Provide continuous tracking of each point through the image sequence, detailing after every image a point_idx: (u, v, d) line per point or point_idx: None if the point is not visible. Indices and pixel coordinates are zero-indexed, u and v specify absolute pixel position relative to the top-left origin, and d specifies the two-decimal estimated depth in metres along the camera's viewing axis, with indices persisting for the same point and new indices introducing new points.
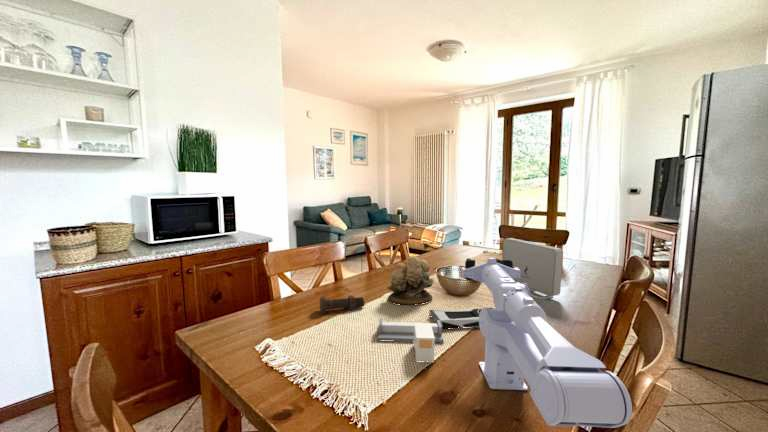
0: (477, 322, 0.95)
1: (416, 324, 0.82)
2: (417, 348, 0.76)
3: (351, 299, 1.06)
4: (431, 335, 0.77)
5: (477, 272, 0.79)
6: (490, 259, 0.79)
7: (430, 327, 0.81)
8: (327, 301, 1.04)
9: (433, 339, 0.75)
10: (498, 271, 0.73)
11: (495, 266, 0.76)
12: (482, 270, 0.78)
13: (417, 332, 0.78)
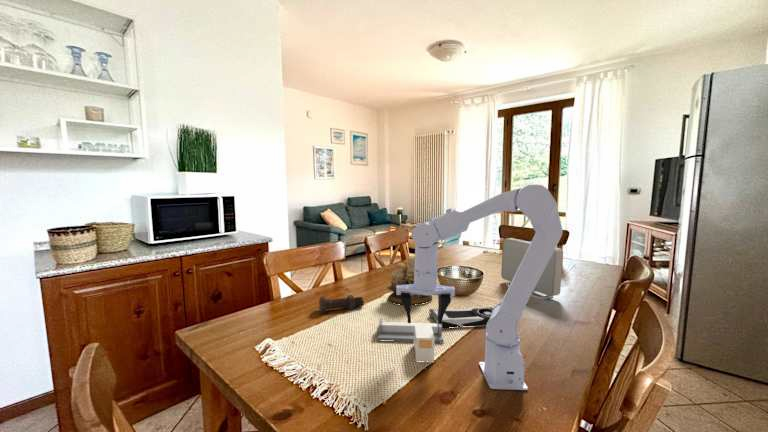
0: (476, 321, 0.95)
1: (416, 324, 0.82)
2: (417, 348, 0.76)
3: (350, 299, 1.06)
4: (431, 335, 0.77)
5: (439, 288, 0.78)
6: (429, 293, 0.74)
7: (430, 327, 0.81)
8: (327, 301, 1.04)
9: (433, 339, 0.75)
10: None
11: (426, 281, 0.75)
12: (436, 285, 0.77)
13: (417, 332, 0.78)
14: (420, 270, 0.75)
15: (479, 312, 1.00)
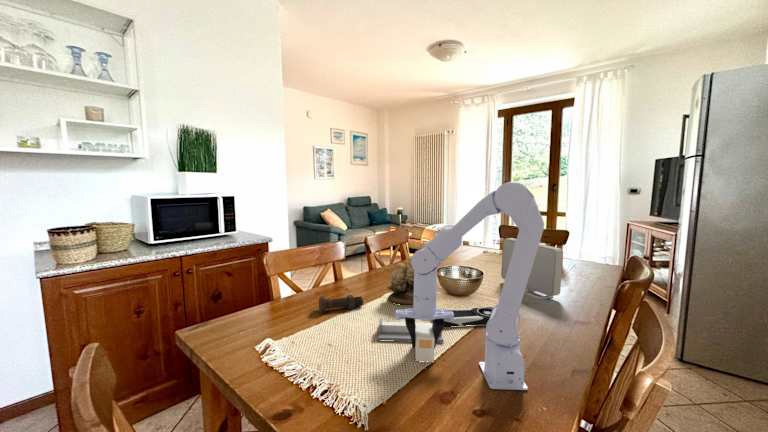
0: (476, 321, 0.96)
1: (416, 324, 0.82)
2: (417, 348, 0.76)
3: (350, 298, 1.07)
4: (431, 335, 0.77)
5: (438, 313, 0.79)
6: (428, 319, 0.75)
7: (430, 327, 0.81)
8: (326, 301, 1.04)
9: (433, 339, 0.75)
10: None
11: (425, 307, 0.76)
12: (435, 310, 0.77)
13: (417, 332, 0.78)
14: (419, 296, 0.76)
15: (479, 311, 1.00)
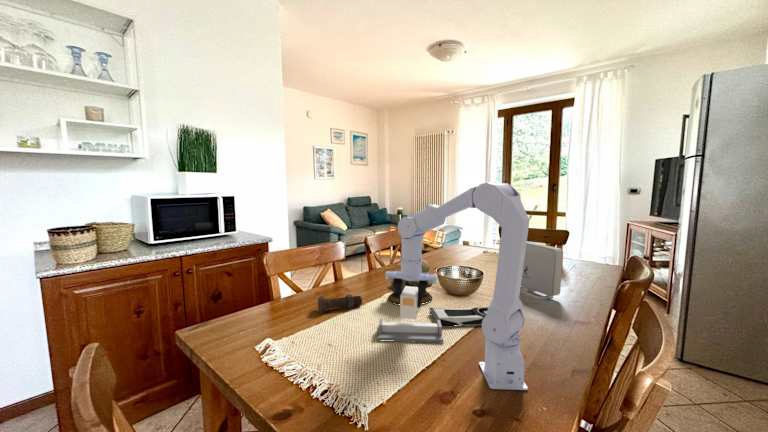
0: (476, 320, 0.96)
1: (406, 287, 0.92)
2: (401, 305, 0.85)
3: (349, 298, 1.07)
4: (414, 295, 0.85)
5: (423, 276, 0.87)
6: (410, 278, 0.84)
7: (417, 290, 0.90)
8: (326, 300, 1.04)
9: (415, 298, 0.84)
10: None
11: (409, 268, 0.85)
12: (419, 272, 0.86)
13: (403, 292, 0.88)
14: (403, 258, 0.86)
15: (479, 311, 1.01)
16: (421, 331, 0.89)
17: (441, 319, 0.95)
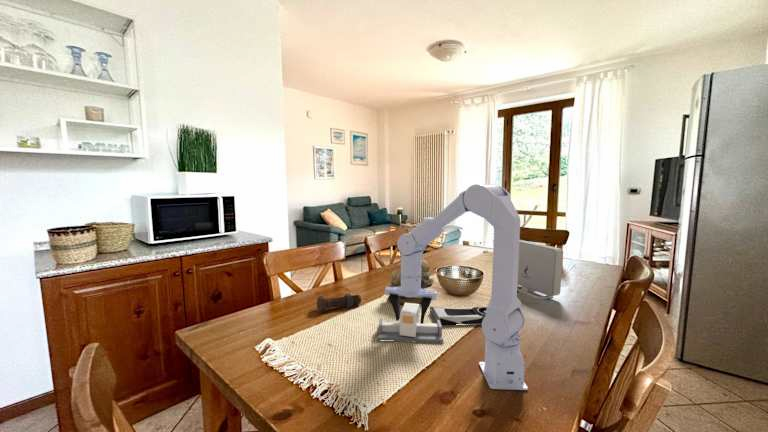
0: (475, 320, 0.96)
1: (406, 303, 0.92)
2: (400, 322, 0.86)
3: (348, 297, 1.08)
4: (414, 313, 0.86)
5: (422, 292, 0.88)
6: (410, 295, 0.85)
7: (417, 307, 0.90)
8: (325, 300, 1.05)
9: (414, 316, 0.85)
10: None
11: (409, 284, 0.86)
12: (419, 288, 0.87)
13: (403, 309, 0.88)
14: (403, 274, 0.86)
15: (479, 311, 1.01)
16: (421, 331, 0.89)
17: (441, 318, 0.96)
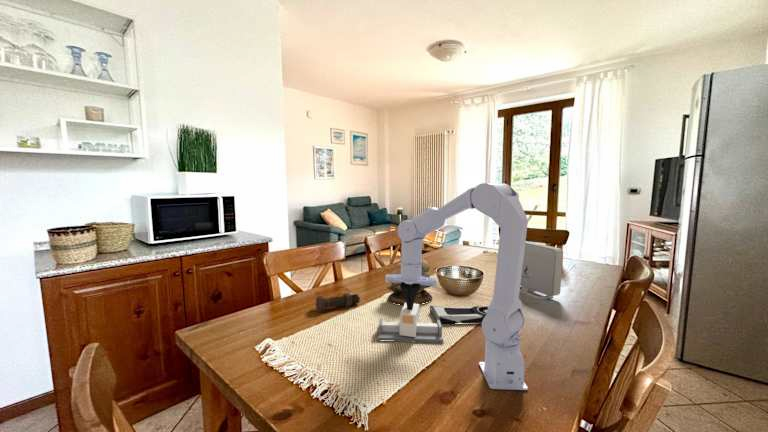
0: (475, 319, 0.97)
1: None
2: (400, 322, 0.86)
3: (347, 296, 1.08)
4: (414, 313, 0.86)
5: (423, 279, 0.87)
6: (410, 282, 0.85)
7: (417, 307, 0.90)
8: (324, 300, 1.05)
9: (414, 316, 0.85)
10: None
11: (409, 271, 0.85)
12: (419, 275, 0.86)
13: (403, 309, 0.88)
14: (403, 261, 0.86)
15: (479, 310, 1.02)
16: (421, 331, 0.89)
17: (440, 317, 0.96)
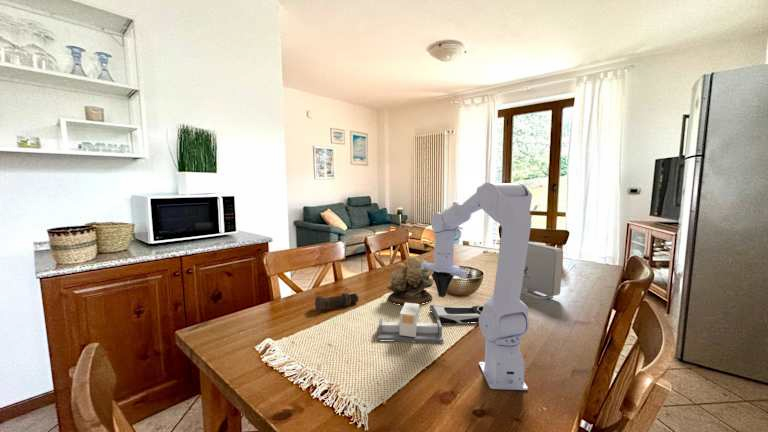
0: (475, 318, 0.97)
1: (406, 303, 0.92)
2: (400, 322, 0.86)
3: (346, 296, 1.09)
4: (414, 313, 0.86)
5: (453, 269, 0.91)
6: (438, 270, 0.91)
7: (417, 307, 0.90)
8: (324, 300, 1.05)
9: (414, 316, 0.85)
10: None
11: (438, 260, 0.91)
12: (449, 265, 0.91)
13: (403, 309, 0.88)
14: (434, 250, 0.93)
15: (479, 309, 1.02)
16: (421, 331, 0.89)
17: (440, 316, 0.97)
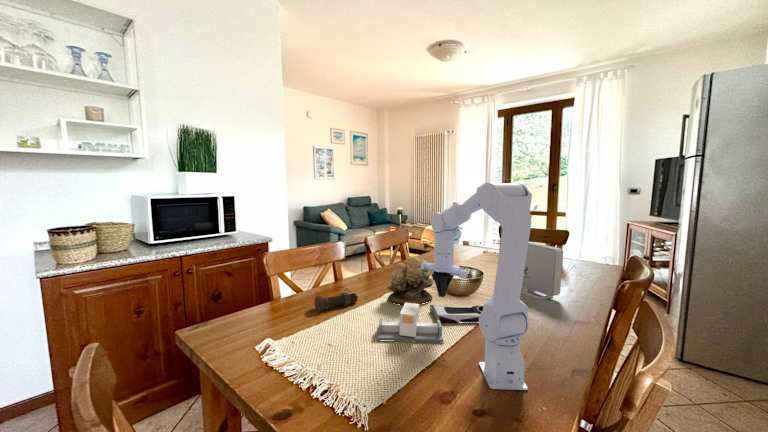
0: (474, 318, 0.98)
1: (406, 303, 0.92)
2: (400, 322, 0.86)
3: (346, 296, 1.09)
4: (414, 313, 0.86)
5: (453, 269, 0.91)
6: (438, 270, 0.91)
7: (417, 307, 0.90)
8: (323, 299, 1.05)
9: (414, 316, 0.85)
10: None
11: (438, 260, 0.91)
12: (449, 265, 0.91)
13: (403, 309, 0.88)
14: (434, 250, 0.93)
15: (479, 309, 1.02)
16: (421, 331, 0.89)
17: (440, 316, 0.97)
